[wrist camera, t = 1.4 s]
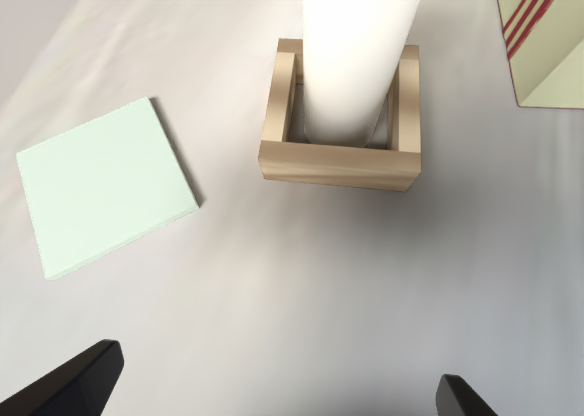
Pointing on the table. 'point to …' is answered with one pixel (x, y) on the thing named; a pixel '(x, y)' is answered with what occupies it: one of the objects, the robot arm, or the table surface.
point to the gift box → (545, 51)
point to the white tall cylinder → (350, 65)
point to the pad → (102, 187)
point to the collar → (335, 159)
